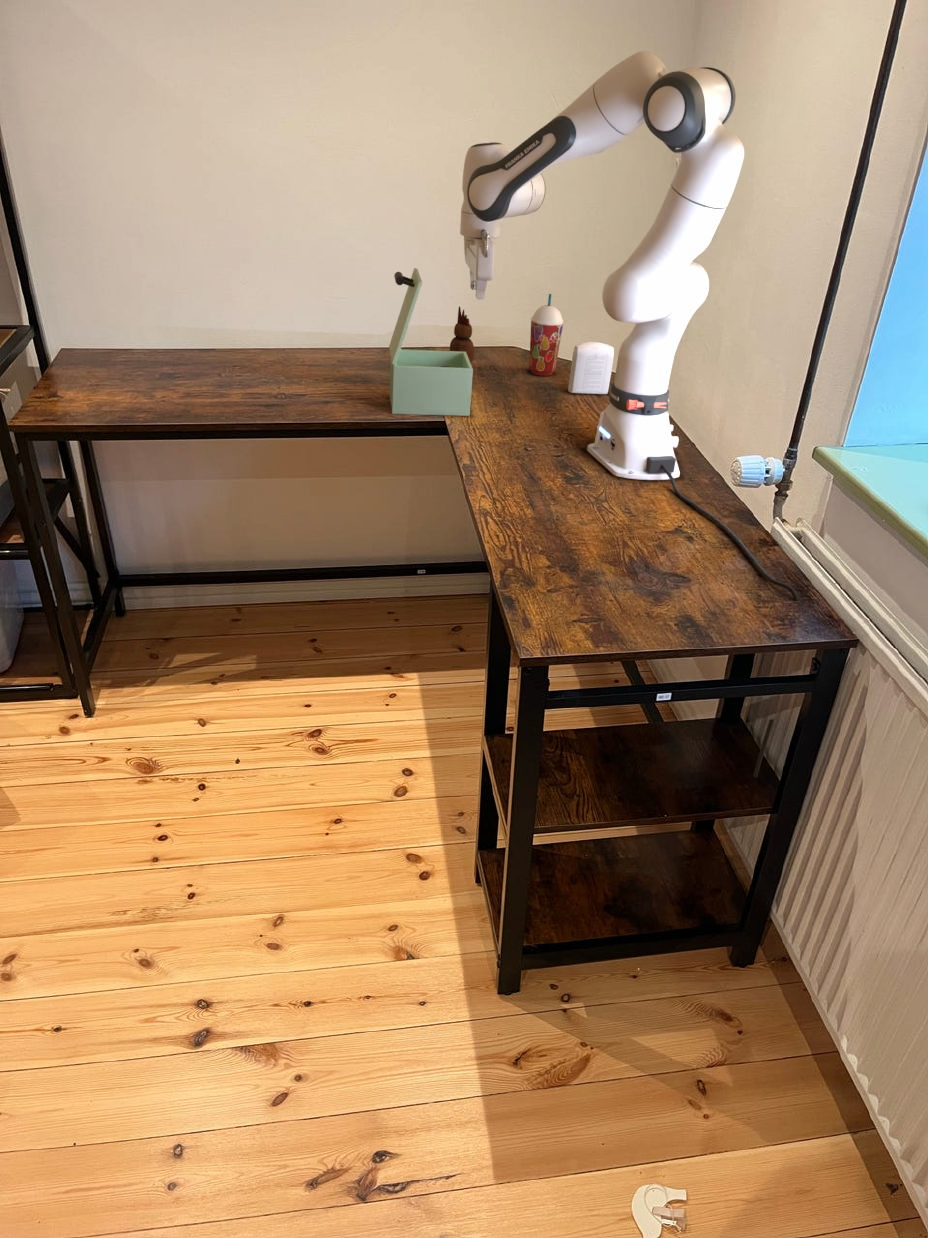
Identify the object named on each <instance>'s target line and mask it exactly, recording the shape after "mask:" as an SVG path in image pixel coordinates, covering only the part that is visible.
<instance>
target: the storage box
mask: <svg viewBox="0 0 928 1238" xmlns="http://www.w3.org/2000/svg"><path fill="white" fill-rule="evenodd" d="M389 356H390V357H389V392H388V395H389V401H390V407H391V414H392V415H421V416H423V415H425V416H457V417H459V416H461V417H470V415H471V402H472V389H473V374H474V369H473V365H472V363H470V361H469V358H468V356H467V353H466V352H459V351H450V350H431V349H430V350H427V349H403V348H401V349H400V352H399V356H398V359H397V362H396V365H394V364H392V360H391V355H389ZM442 366H450V367H442Z"/></svg>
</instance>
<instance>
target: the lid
mask: <svg viewBox="0 0 928 1238" xmlns="http://www.w3.org/2000/svg"><path fill="white" fill-rule="evenodd" d="M393 277H394V280H395V284H396V285H397V286H402V285H405V286H407V289H406V292H405V295H404V299H403V301H402V305H401V308H400V311H399V314H398V318H397V321H396V324H395V325H394V326H395V327H394V330H393V332H392V336H391V339H390V342H389V346H388V348H389V354H390V355H391V360H392V364H394V365H396V362H397V359H398V356H399V352H400V349H402V346H403V343H404V340H405V337H406V334H407V331H408V327H409V325H410V322H411V320H412V319H411V318H412V316H413V312H414V310H415V307H416V303H417V301H418V298H419V294H420V292H421V289H422V285H423V281H422V279H421V278H422V277H421V274H420V272H419V269H418V268H416V267H414V268H413V270H412V274H411V277H407V276H404V275H403V273H402V272H401V271H396V272H394V276H393ZM390 355H389V356H390Z"/></svg>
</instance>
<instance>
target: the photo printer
mask: <svg viewBox="0 0 928 1238" xmlns="http://www.w3.org/2000/svg"><path fill="white" fill-rule="evenodd" d="M614 354H615V348H614V347H613V346H612V345H610V344H607V343H603V342H599V341H588V342H582V343H578V344H575V346H574V348H573V352H572V357H571V365H570V372H569V379H568V386H567V391H568V392H569V393H571V394H588V395H591V394H593V395H608V393H609V390H610V382H611V376H612V370H613V364H614V357H615V355H614Z"/></svg>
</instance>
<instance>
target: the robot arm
mask: <svg viewBox="0 0 928 1238" xmlns="http://www.w3.org/2000/svg"><path fill="white" fill-rule="evenodd" d="M735 106H736V88H735V85H734V83H733V81H732V79H731V78H730V76H729V75H727V73H725V72H723V71H722V70H720V69H718V68H715V67H711V66H709V67H708V66H705V67H704V66H703V67H686V68H682V69H680V70H677V71H675V70H674V71H671V72H670V71H669V70H668V68H667V67H666V65H665V64H664V62H663V61H662V60H661V58H659V56H657V55H656V54H654V53H653V52H650V51H645V50H641V51H638V52H635V53H632V54H631V55H630V56H628V57H626V58H625V59H623V60H621V61H620V62H619V63H617V64H615V65H614V66H613V67H612V68H610V69H609V70H607V71H606V72H605V73H604V74H602V75H601V76H600V77H599V78H598V79H596V81H594V82H593V83H592V84H591V85H590V86H589V87H588V88H587V89H586V90H585V91H583V93H581V94H580V95H579V96H578V97H577V98H576V99H574V101H572V102H571V103H570V104H569V105H568V106H567V107H565V108H564V109H563V110H562V111H560V113H558V114H557V115H556V116H555V117H554V118H552V119H551V120H550V121H549V122H548V123H546V124H545V125H544V126H542V127H541V128H539V129H538V130H537V131H535V132H534V133H533V134H531V135H530V136H529V137H528V138H526V139H525V140H524V141H523V142H521V143H520V144H519V145H518V146H516V147H515V148H514V149H512V150H511V151H509V150H508V149H507V147H506V145H505V144H503V143H501V142H496V141H495V142H483V143H481V142H480V143H475V144H473V145H471V146H470V147H469V148H468V149H467V151H466V154H465V158H464V161H463V163H464V164H463V170H462V184H461V185H462V187H461V190H462V194H463V195H462V196H463V201H462V204H461V208H460V209H461V211H460V227H459V235H461V236H463V248H464V249H463V251H464V252H463V253H464V261H465V264H466V265H467V268H469V278H470V279H469V280H470V281H469V283H470V284H469V287H470V288H469V289H471V290H472V291H475V298H476V299H477V300H485V297H486V289H487V285H488V282H490V281H491V282H492V280H493V278H494V272H495V271H494V267H495V244H496V239H499V238H501V237H502V232H503V231H502V230H503V219H506V218H507V219H508V218H515V217H520V216H526V215H530V214H532V213H535V212H536V211H538V210H539V209H540V208H541V207H542V205H543V202H544V200H545V196H546V181H545V178H544V176H543V174H542V173H543V172H544V171H546V170H547V169H548V168H550V167H553V166H554V165H556V164H558V163H561V162H564V161H567V160H571V159H577V158H582V157H587V156H593V155H597V154H601V153H603V152H605V151H607V150H609V149H611V148H612V147H614V146H616V145H618V144H620V143H621V142H622V141H623V140H625V139H626V138H627V137H628V136H630V135H631V134H632V133H633V132H634V131H636V130H637V129H638V128H640V126H642V125H643V124H645V125H646V127H647V128H648V130H649V131H650V132H651V133H652V134H653V135H654V136H655V137H656V138H657V139H659V140H660V141H661V142H662V143H663V144H664V145H665V146H666V147H667V148H668V149H669V151H671V152H673V153H674V154H680V159H679V164H678V166H677V169H676V171H675V173H674V176H673V179H672V181H671V183H670V184H669V185H670V186H669V187H668V189H667V192H666V195H665V197H664V199H663V202H662V204H661V206H660V207H659V210H658V213H657V215H656V217H655V219H654V221H653V223H652V225H651V227H650V228H649V230H648V231H647V233H646V234H645V235H644V237H643V238H642V240H641V241H640V242H639V244H638V245H637V246H636V248H635V249H634V250H633V252H632V253H631V254H630V256H629V257H628V258H627V259H626V260H625V261H624V262H623V263H622V264H621V266H619V267H618V268H617V269H616V270H614V271H613V272H611V273H610V274H609V275H608V277H607V278H606V279H605V281H604V284H603V286H602V292H601V293H602V294H601V295H602V297H601V298H602V305H603V308H604V310H605V312H606V313H607V315H608V316H609V317H610V318H611V319H613V320H615V321H616V322H620V323H627V324H634V327H633V328H632V330H631V331H630V333H629V335H628V336H627V337H626V338H625V339H624V340H623V341H622V343H620V344H621V345H620V346H619V349H618V354H617V361H616V368H615V375H614V381H613V382H612V384H611V387H610V388H609V398H608V400H609V403H608V405H607V406H606V407H605V409H603V410H602V411H601V412H600V413H599V418H598V423H597V428H596V434H595V439H594V442H593V443H589V444H588V445H587V447H586V451H587V452H588V453H589V454H590V455H591V456H592V457H593V458H594V459H595V460H597V461H598V463H600V464H601V465H602V466H603V467H604V468H605V469H606V470H608V471H609V472H610V473H611V474H612V475H613V476H615V477H618V478H624V479H631V480H640V481H665V480H666V481H667V480H669V481H670V483H671V486H672V489H673V491H674V492H675V494H676V495H677V496H678V497H679V498H680V499H681V500H682V501H684V502H686V503H687V504H689V505H691V506H693V507H694V508H695V509H696V510H698V511H699V512H701V513H702V514H703V515H705V516H706V517H708V518H709V519H711V521H713V522H714V523H715V524H717V525H718V526H719V527H720V528H721V529H723V531H725V532H726V533H727V534H728V535H729V536H730V538H732V539H733V540H734V541H735V542H736V543H737V545H738V546H739V547H740V548H741V550H742V551H743V552H744V553H745V555H746V556H747V557H748V558H749V560H750V561H751V562H752V564H753V565H754V566H755V567H756V569H757V570H758V571H759V572H760V574H761V575H762V576H763V577H764V578H765V579H766V580H767V581H769V582H770V583H771V584H773V585H775V586H778V587H781V588H783V589H786V590H787V591H788V592H789V593H790V594H791V596H792V599H793V600H794V601H795V602H799V601H800V599H799V596H798V593H797V591H796V590H795V588H793V586H791V585H790V584H788V583H786V582H782V581H781V580H780V581H779V580H778V579H775V578H774V577H772V576H771V575H770V574H768V572H767V571H766V570H765V569H764V568H763V566H762V565H761V563H760V562H759V561H758V560H757V559H756V557H755V556H754V555H753V554H752V553H751V551H750V550H749V549H748V547H747V546H746V545H745V544H744V542H743V541H742V540H740V538H739V537H738V536H737V535H736V533H734V532H733V530H731V529H730V528H729V527H728V526H727V525H726V524H725V523H724V522H722V521H721V520H720V519H719V518H718V517H716V516H715V515H713V514H712V513H710V512H709V511H707V510H706V509H705V508H703V507H702V506H700V505H699V504H697V503H696V502H695V501H693V500H691V499H690V498H688V497H686V496H685V495H684V494H683V493H682V492H681V491H680V490H679V489H678V487H677V484H676V481H675V479H677V478H680V475H681V472H680V471H681V470H680V468H679V464H678V461H677V457H676V454H675V451H674V448H675V449H676V448H678V445H679V436H676V435H672V432H673V431H674V425H673V424H670V423H671V422H670V414H669V412H668V410H669V403H670V390H669V383H670V379H671V373H672V370H673V365H674V359H675V356H676V351H677V349H678V346H679V344H680V341H681V339H682V336H683V335H684V332H685V330H686V328H687V326H688V325H689V322H690V321H691V319H692V318H693V315H694V314H695V313H696V311H697V310H698V309H699V308H700V307H701V306H702V305H703V304H704V303H705V301H706V299H707V297H708V295H709V290H710V280H709V279H710V278H709V275H708V273H707V271H706V270H705V268H704V266H702V265H701V264H699V263H698V262H696V261H694V260H695V259H696V258H697V257H698V256H699V255H700V254H702V253H703V252H704V251H706V249H707V248H708V247H709V245H710V244H711V242H712V239H713V237H714V235H715V234H716V231H717V228H718V227H719V225H720V223H721V220H722V218H723V217H724V214H725V212H726V210H727V207H728V205H729V203H730V201H731V198H732V196H733V194H734V191H735V188H736V186H737V183H738V180H739V177H740V173H741V170H742V167H743V163H744V160H745V148H744V144H743V142H742V141H741V139H740V138H739V137H738V136H737V135H736V134H734V133H733V132H732V131H730V130H728V129H727V128H726V127H725V126H724V124H726V123H727V121H728V120H729V118H730V117H731V115H732V113H733V112H734V108H735ZM774 722H775V718H769V720H768V724H767V727H766V730H765V734H764V736H763V740H762V743H761V746H760V750H759V753H758V757H757V760H756V764H755V767H754V772H753V774H752V775H753V778H758V775H759V773H760V768H761V764H762V760H763V757H764V754H765V751H766V747H767V745H768V741H769V737H770V735H771V731H772V728H773V726H774Z"/></svg>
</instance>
